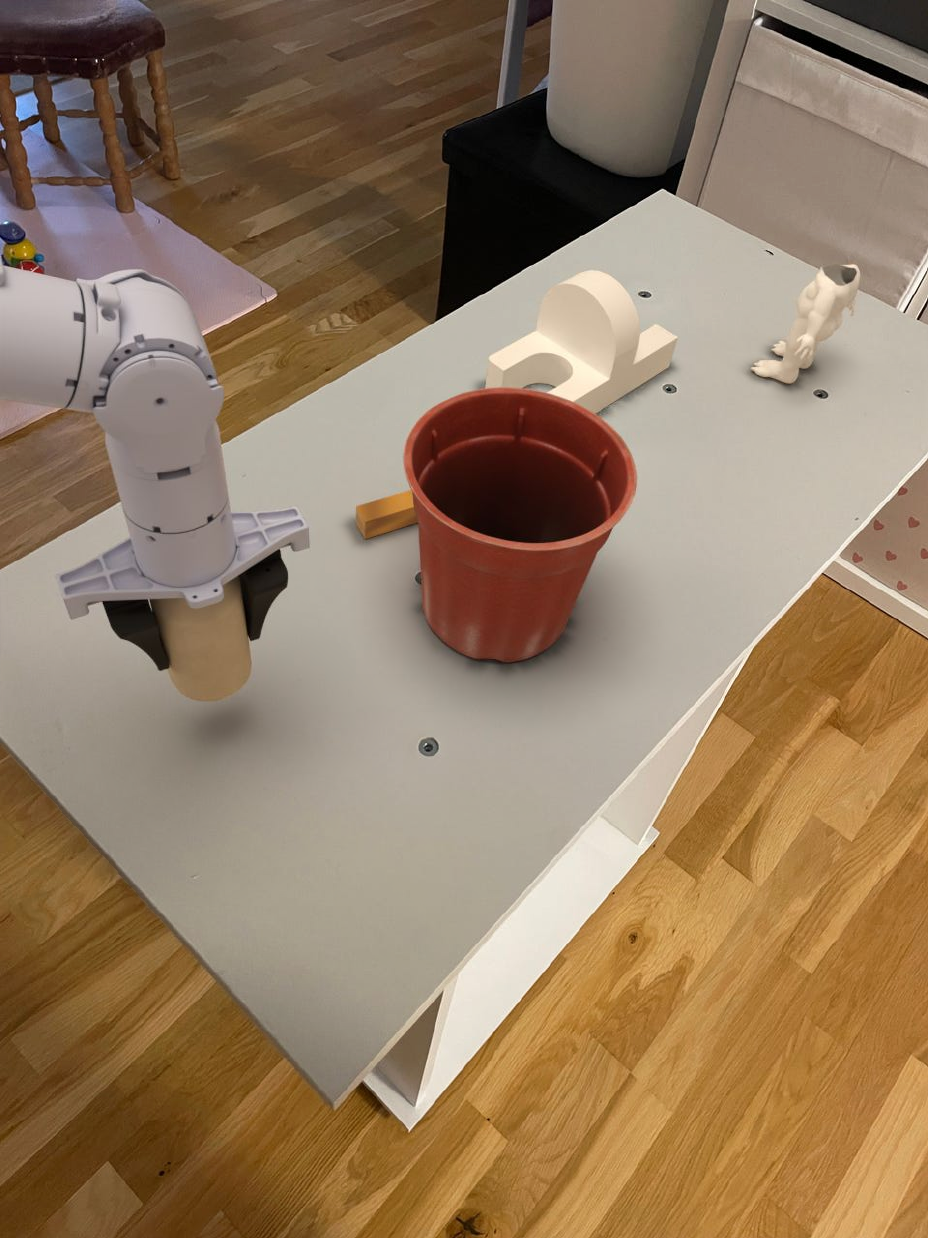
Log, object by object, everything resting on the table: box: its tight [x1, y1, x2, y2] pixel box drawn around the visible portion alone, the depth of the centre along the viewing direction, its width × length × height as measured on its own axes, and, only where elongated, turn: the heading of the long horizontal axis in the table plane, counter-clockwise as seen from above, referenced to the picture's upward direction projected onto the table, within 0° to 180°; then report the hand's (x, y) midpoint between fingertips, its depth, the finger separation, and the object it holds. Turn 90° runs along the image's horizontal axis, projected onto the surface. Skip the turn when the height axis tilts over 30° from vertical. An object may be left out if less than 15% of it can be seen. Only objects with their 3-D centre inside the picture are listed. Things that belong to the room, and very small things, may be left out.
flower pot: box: [402, 387, 638, 663], centre depth 76 cm, size 16×16×16 cm
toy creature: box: [750, 263, 861, 384], centre depth 100 cm, size 12×6×12 cm, turn 141°
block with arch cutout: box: [484, 269, 679, 415], centre depth 97 cm, size 18×10×11 cm, turn 134°
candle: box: [148, 576, 253, 702], centre depth 63 cm, size 6×6×10 cm
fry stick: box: [355, 489, 418, 540], centre depth 87 cm, size 14×2×2 cm, turn 117°
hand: (205, 643), depth 65 cm, fingers closed on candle, 5 cm apart
